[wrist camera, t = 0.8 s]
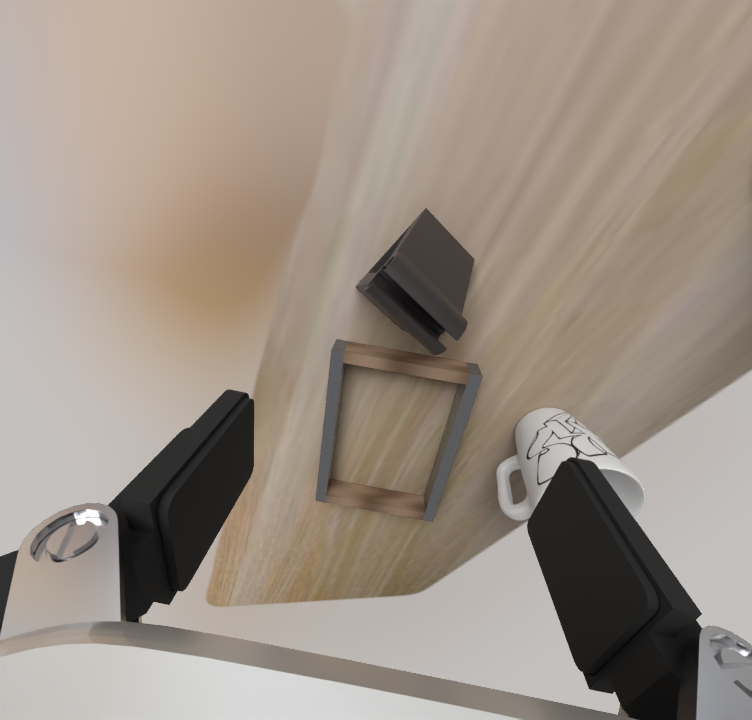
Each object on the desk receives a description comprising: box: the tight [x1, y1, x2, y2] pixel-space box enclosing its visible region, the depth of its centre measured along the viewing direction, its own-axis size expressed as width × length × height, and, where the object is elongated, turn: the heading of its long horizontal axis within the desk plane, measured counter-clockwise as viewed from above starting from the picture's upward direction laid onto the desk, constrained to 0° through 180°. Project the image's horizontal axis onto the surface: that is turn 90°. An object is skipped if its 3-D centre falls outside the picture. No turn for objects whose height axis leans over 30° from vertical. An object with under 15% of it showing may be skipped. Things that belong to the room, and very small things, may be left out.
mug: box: [496, 408, 646, 521], centre depth 32 cm, size 11×8×10 cm
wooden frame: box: [316, 340, 482, 522], centre depth 37 cm, size 14×20×2 cm
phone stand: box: [356, 209, 474, 355], centre depth 24 cm, size 9×6×12 cm, turn 137°
